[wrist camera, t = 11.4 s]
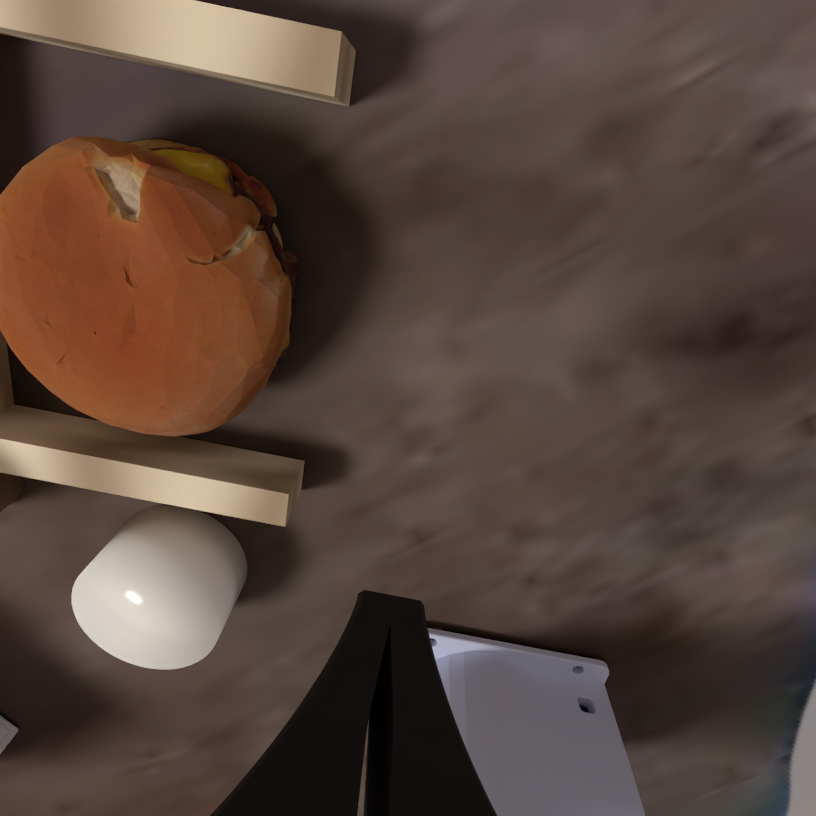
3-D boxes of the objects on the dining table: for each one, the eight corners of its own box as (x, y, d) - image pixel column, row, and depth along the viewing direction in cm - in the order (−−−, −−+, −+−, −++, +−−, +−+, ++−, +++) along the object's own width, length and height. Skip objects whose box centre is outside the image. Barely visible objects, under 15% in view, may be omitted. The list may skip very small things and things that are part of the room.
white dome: (251, 518, 24) (222, 572, 20) (244, 618, 26) (216, 680, 23) (117, 492, 24) (65, 543, 20) (121, 595, 26) (76, 655, 23)
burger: (93, 406, 22) (9, 463, 18) (7, 155, 18) (-125, 149, 14) (332, 393, 21) (304, 449, 17) (292, 126, 17) (243, 111, 13)
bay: (355, 50, 16) (338, 26, 13) (301, 491, 23) (281, 534, 20) (-92, -44, 16) (-203, -89, 13) (-18, 429, 22) (-81, 465, 20)
